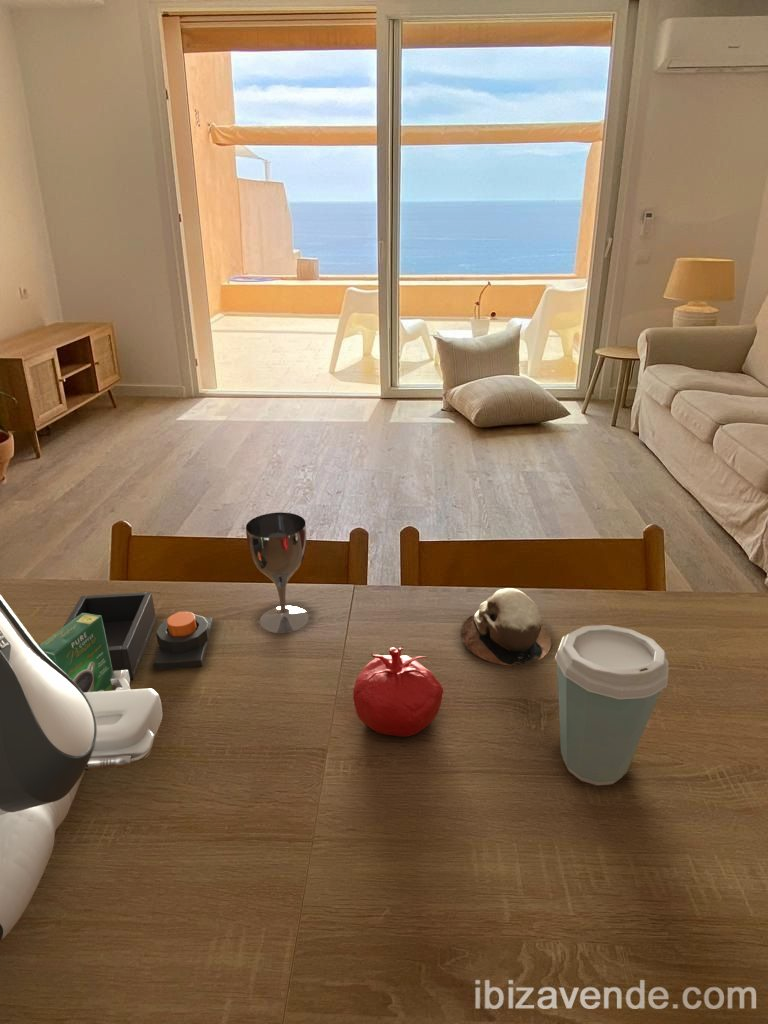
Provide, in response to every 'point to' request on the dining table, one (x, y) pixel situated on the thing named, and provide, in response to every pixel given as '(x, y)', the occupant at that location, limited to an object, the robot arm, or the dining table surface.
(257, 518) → the wine glass
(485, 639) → the skull
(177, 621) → the button
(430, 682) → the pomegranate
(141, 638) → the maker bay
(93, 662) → the coffee box
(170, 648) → the panel
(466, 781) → the dining table surface
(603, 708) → the disposable coffee cup
